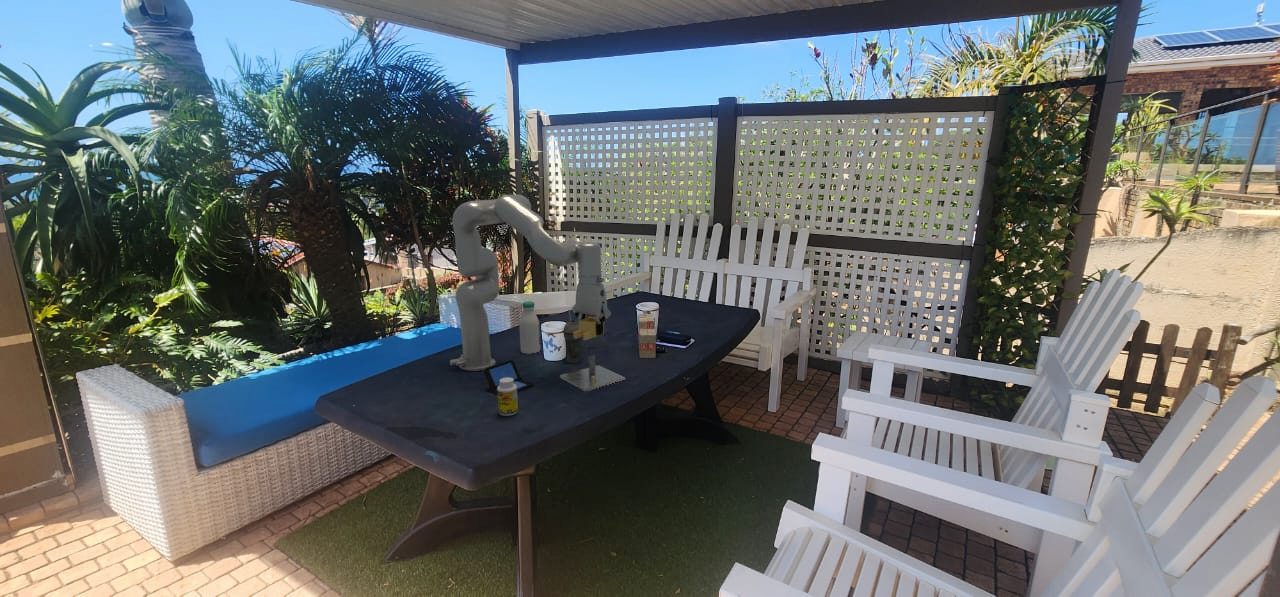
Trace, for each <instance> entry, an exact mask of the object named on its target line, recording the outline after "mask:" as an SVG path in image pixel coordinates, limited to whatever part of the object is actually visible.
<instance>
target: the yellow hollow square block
mask: <svg viewBox="0 0 1280 597" xmlns="http://www.w3.org/2000/svg"><path fill="white" fill-rule="evenodd" d="M578 323H579V330H578V331H575V332H573V334H574V338H579V337H581V336H582V337H583V338H582V337H581V338H582V339H583V341H588V340H590V339H593V338H596V337H598V336H597V335H596V324H597V320H596V318H595V316H594V317H593V316H589V317H586V318H585V319H582V320H579V321H578ZM603 329H604V331H603V334H601V335H604V334H605V322H604V323H603ZM601 335H600V336H601Z"/></svg>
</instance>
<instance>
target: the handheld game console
mask: <svg viewBox="0 0 1280 597" xmlns="http://www.w3.org/2000/svg"><path fill="white" fill-rule="evenodd" d="M483 373H484V376H485V378H486V381H487V383H488V385H489V388H490V392H491V393H492V394H496V395H497V387H498V386H499V385H500V379H502V378H507V377H509V378H513V379H514V384H515V385H516V386H517V394H518V393H521V392H522V391H525V390H528V389H530V388H533V387H534V386H535V382H533V381H530V380H526V379H523V378H522V377H521V375H520V373H519V369H518V367H517V365H516V362H515V361H514V360H513V359H510V360H507V361H503V362H501V363H498V364H495V365H494V366H491V367H488V368H486V369H484V370H483ZM520 391H521V392H520Z"/></svg>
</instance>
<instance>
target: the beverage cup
mask: <svg viewBox="0 0 1280 597" xmlns="http://www.w3.org/2000/svg"><path fill="white" fill-rule="evenodd" d="M567 312H568V318H569V321H567V322H566V323H565V324H564V326H563V330H562V332H563V337H564V342H565V350H566V359H567V362H568V363H569V364H578V363H579V362H580V361H581V354H582V352H581V350H582V337H583V336H581V337H579V338H574V334H573V332H575V331H578V330H579V321H578V320H577V321H576V320H572V316H571V310H570V309H567Z"/></svg>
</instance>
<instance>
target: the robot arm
mask: <svg viewBox="0 0 1280 597" xmlns="http://www.w3.org/2000/svg"><path fill="white" fill-rule="evenodd" d="M501 223H506V224H507V225H509V226H510V227H511V228H512V229H514V230H515V231H517V232H518V233H520V235H522V236H523V237H525V238H526V239H527V240H526V241H527V242H528V243H529V245H530V247H531V249H532V250H533V251H534V252H535V253H536V254H537V255H538V256H539V257H541V258H542V259H543V260H544V261H547V262H548V263H549V264H551V265H553V266H555V267H561V268H562V267H565V266H568V265H572V264H575V263H577V273H578V276H577V277H578V283H577V285H576V290H575V304H574V305H573V306H572V307H571V311H572V312H573V313H574V315H575V317H576V318H577V322H579V320H582V319H585V318H587V315H589V316H594V318H596V320H597V324H596V335H597V337H599V336H601V334H602V335H604V334H603V331H604V332H605V328H604V329H603V323H604V324H605V322H606V320H607V319H609V317H610V316H611V315H612V312H611V311H610V310H609V308H608V299H607V293H606V289H605V288H606V287H605V285H604V283H603V282H604V281H605V278H604V277H603V276H602V254H601V248H602V247H601V245H600V243H598V242H596V241H584V242H583V241H577V240H567V241H561V242H559V241H558V240H556V239H555V238H553V237H552V236H551V235H549V234H548V233H547V231H545V229H544V227H543V226H544V223H545V222H544V219H543V217H542V216H540V214H537V212H535V211H534V210H532V204H531V201H530V200H529V199H528V198H527V197H526V196H525V195H522V194H504V195H501V196H500V197H498V198H496V199H482V200H469V201H466V202H464V203H461V204H460V205H459V206H458V207H457V208H456V209H455V210H454V211H453V214H452V227H453V228H452V229H453V232H454V234H453V235H454V241H455V242H454V244H455V253H456V256H455V257H456V266H457V270H458V273H459V274H460V275H461V276H462V277H464V278H473V277H475V279H469V280H467V281H465V282H462V283H461V284H460V285H459V286H458V287H457V288H456V291H455V301H456V305H457V307H458V312H459V313H458V314H459V320H460V331H461V344H462V354H460V357H458V358H454V359H450V360H449V364H450V366H454V365H456V366H457V367H458V366H459V369H460V368H461V369H460V370H462V369H463V370H462V371H465V370H467V371H466V372H481V371H484V369H486V368H488V367H491V366H494V365H496V360H495V359H494V358H492V356H491V342H490V328H489V318H488V313H487V311H486V309H485V307H484V305H485V304H489V303H490V302H492V301H494V300H495V299H497V297H498V296H499V293H500V277H499V265H498V264H499V263H498V258H497V256H496V254H495V253H494V252H493V250H491V249H490V248H487V247H482V242H481V241H482V239H481V234H480V233H479V230H478V229H477V227H479V226H486V225H487V226H488V225H494V224H501ZM602 283H603V284H602ZM480 370H481V371H480Z"/></svg>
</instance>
